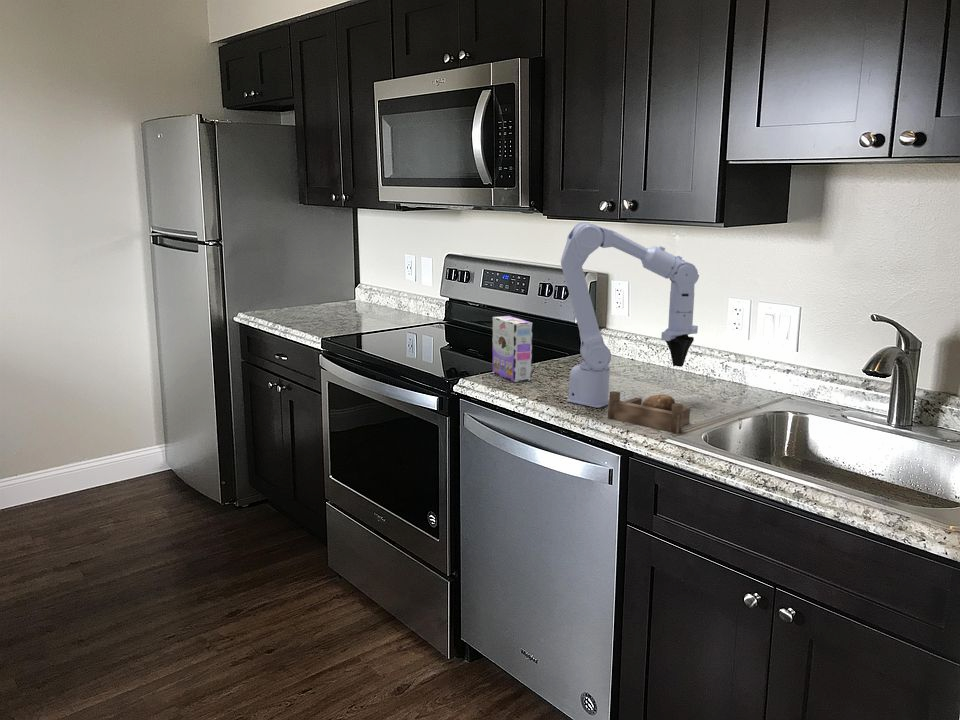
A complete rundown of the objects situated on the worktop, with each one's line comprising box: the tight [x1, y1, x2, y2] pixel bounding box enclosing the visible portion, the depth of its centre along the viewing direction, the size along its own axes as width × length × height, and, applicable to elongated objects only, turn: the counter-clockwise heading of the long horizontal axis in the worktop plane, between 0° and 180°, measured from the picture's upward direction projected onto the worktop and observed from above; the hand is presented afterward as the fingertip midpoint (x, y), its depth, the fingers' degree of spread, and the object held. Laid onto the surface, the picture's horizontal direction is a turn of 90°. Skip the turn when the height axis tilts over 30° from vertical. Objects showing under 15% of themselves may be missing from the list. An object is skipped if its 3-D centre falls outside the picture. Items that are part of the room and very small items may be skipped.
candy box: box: [491, 315, 534, 383], centre depth 232 cm, size 14×6×16 cm, turn 25°
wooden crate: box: [607, 390, 691, 434], centre depth 190 cm, size 18×9×6 cm, turn 48°
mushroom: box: [642, 393, 676, 411], centre depth 192 cm, size 8×8×6 cm
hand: (678, 365), depth 205 cm, fingers closed
